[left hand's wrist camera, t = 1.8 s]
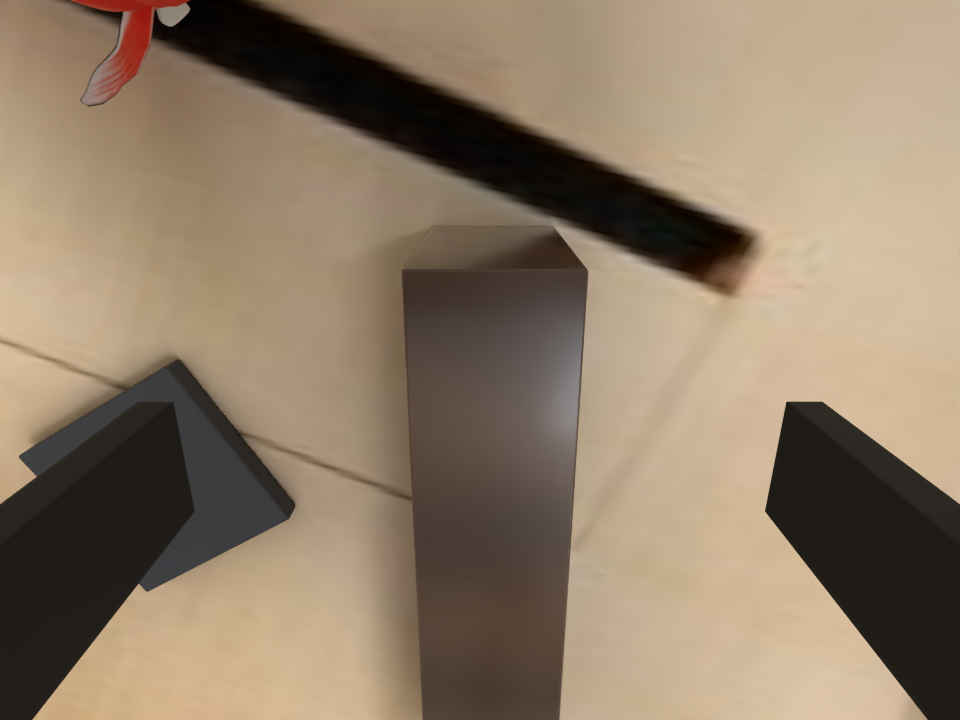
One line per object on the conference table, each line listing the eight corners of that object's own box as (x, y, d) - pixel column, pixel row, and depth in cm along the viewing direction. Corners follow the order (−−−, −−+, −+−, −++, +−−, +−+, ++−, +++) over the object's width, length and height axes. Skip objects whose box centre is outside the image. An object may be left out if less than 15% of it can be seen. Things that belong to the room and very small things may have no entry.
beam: (431, 225, 22) (401, 268, 14) (554, 226, 22) (588, 269, 14) (445, 732, 31) (431, 924, 23) (532, 734, 31) (546, 926, 23)
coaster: (179, 358, 24) (166, 366, 23) (296, 506, 26) (289, 519, 25) (34, 445, 25) (16, 457, 24) (158, 577, 27) (146, 593, 26)
